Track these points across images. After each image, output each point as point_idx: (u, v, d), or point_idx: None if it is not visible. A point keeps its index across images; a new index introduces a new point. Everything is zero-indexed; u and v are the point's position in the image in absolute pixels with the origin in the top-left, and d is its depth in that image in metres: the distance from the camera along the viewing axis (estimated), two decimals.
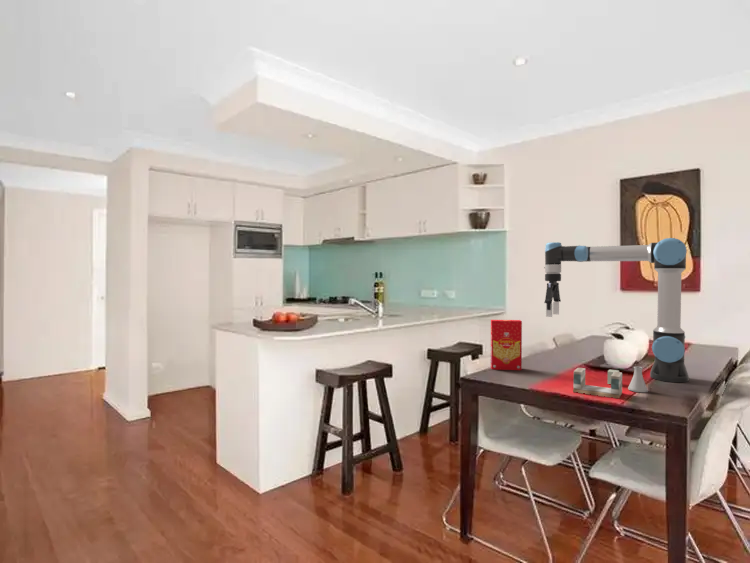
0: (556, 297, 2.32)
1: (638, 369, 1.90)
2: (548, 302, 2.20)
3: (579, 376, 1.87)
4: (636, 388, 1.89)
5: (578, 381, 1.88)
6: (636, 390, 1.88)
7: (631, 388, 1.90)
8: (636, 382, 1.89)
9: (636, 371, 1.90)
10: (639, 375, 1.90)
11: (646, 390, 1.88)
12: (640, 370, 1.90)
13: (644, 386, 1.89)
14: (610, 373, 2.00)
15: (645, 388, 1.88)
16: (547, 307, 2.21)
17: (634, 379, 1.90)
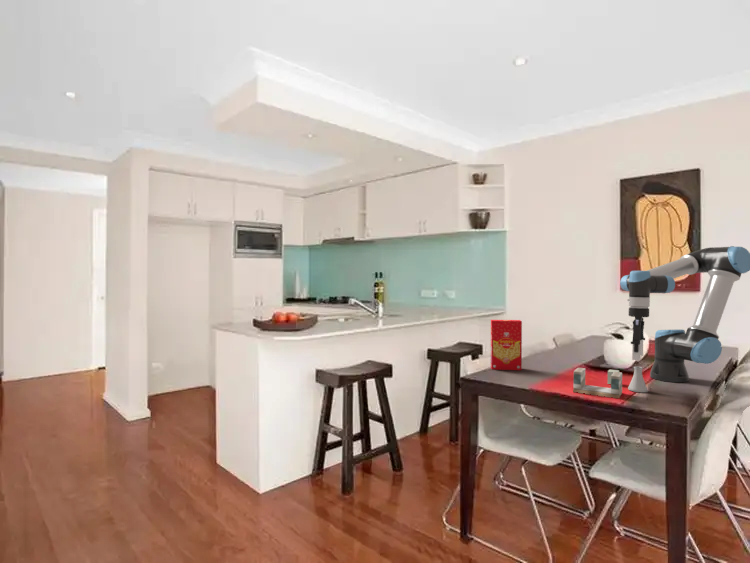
0: (640, 335, 1.95)
1: (638, 369, 1.90)
2: (636, 343, 1.83)
3: (579, 376, 1.87)
4: (636, 388, 1.89)
5: (578, 381, 1.88)
6: (636, 390, 1.88)
7: (631, 388, 1.90)
8: (636, 382, 1.89)
9: (636, 371, 1.90)
10: (639, 375, 1.90)
11: (646, 390, 1.88)
12: (640, 370, 1.90)
13: (644, 386, 1.89)
14: (610, 373, 2.00)
15: (645, 388, 1.88)
16: (634, 349, 1.84)
17: (634, 379, 1.90)
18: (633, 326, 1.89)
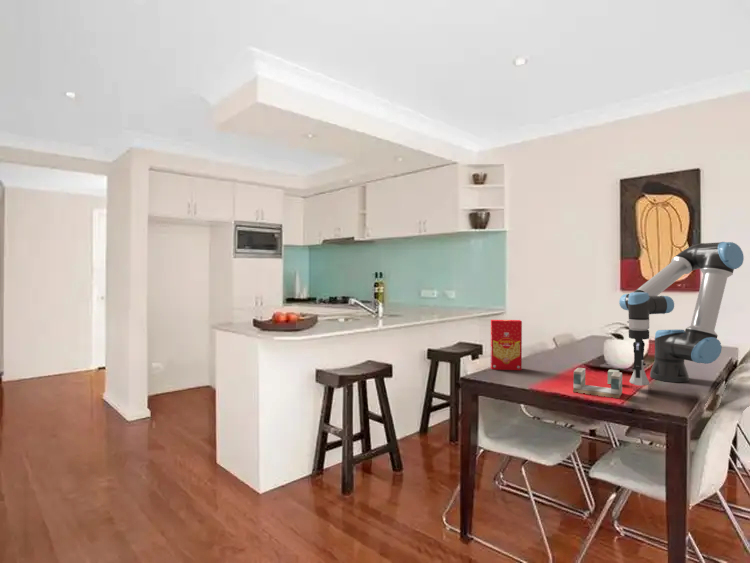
0: (641, 359, 1.93)
1: None
2: (638, 369, 1.86)
3: (579, 376, 1.87)
4: None
5: (578, 381, 1.88)
6: None
7: (633, 381, 1.90)
8: None
9: None
10: None
11: (648, 383, 1.88)
12: None
13: (645, 379, 1.89)
14: (610, 373, 2.00)
15: (646, 381, 1.88)
16: (636, 374, 1.87)
17: None
18: None
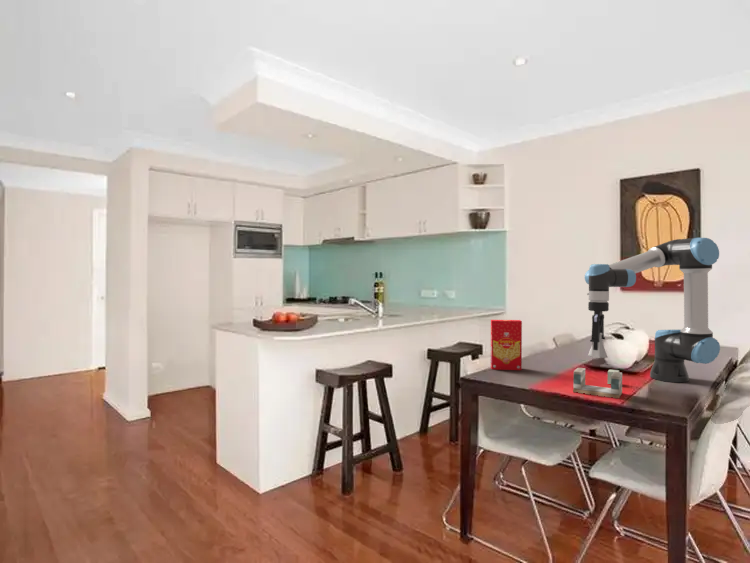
0: None
1: None
2: (595, 340, 1.82)
3: (579, 376, 1.87)
4: None
5: (578, 381, 1.88)
6: None
7: (590, 354, 1.87)
8: None
9: None
10: None
11: (605, 356, 1.85)
12: (600, 336, 1.86)
13: (603, 352, 1.85)
14: (610, 373, 2.00)
15: (604, 354, 1.85)
16: (594, 347, 1.83)
17: None
18: None
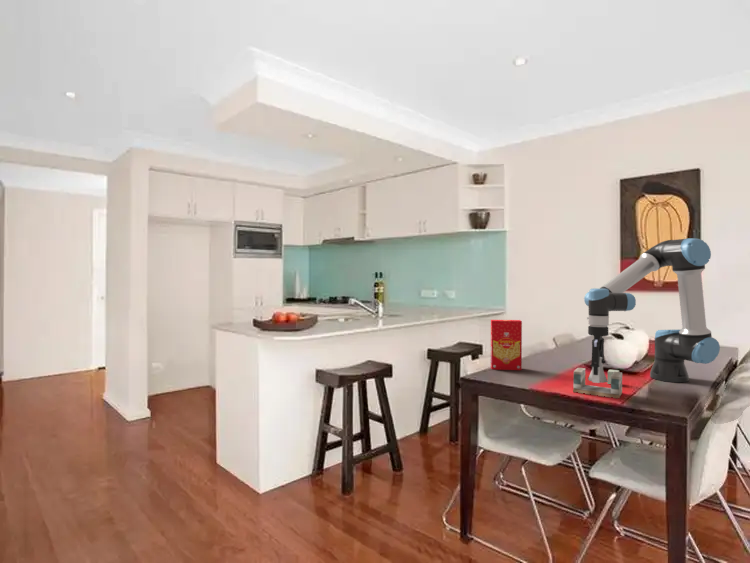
0: (600, 356, 1.90)
1: None
2: (595, 365, 1.82)
3: (579, 376, 1.87)
4: None
5: (578, 381, 1.88)
6: None
7: (590, 378, 1.87)
8: None
9: None
10: None
11: (605, 380, 1.85)
12: (600, 360, 1.87)
13: (603, 376, 1.85)
14: (610, 373, 2.00)
15: (604, 378, 1.85)
16: (594, 371, 1.83)
17: None
18: None
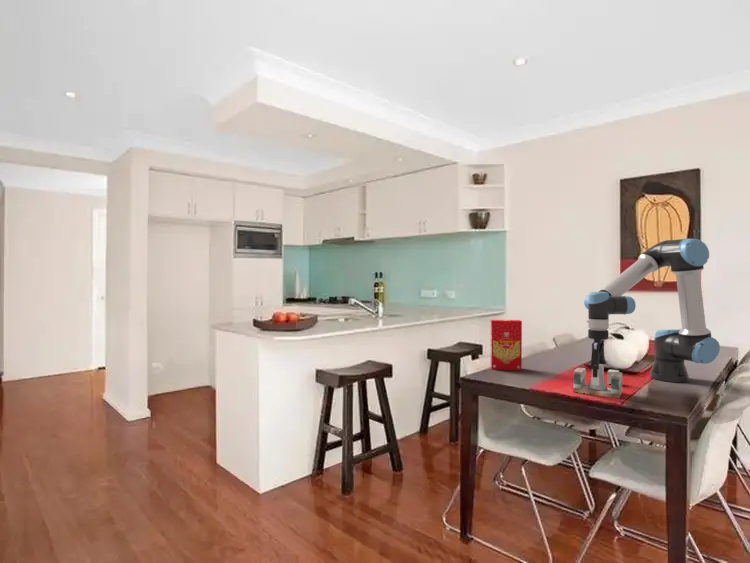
0: (600, 358, 1.91)
1: None
2: (595, 368, 1.81)
3: (579, 376, 1.87)
4: (595, 386, 1.85)
5: (578, 381, 1.88)
6: (595, 388, 1.85)
7: (591, 386, 1.87)
8: None
9: None
10: None
11: (605, 388, 1.85)
12: (600, 368, 1.87)
13: (603, 384, 1.86)
14: (610, 373, 2.00)
15: (604, 386, 1.85)
16: (593, 374, 1.82)
17: None
18: None
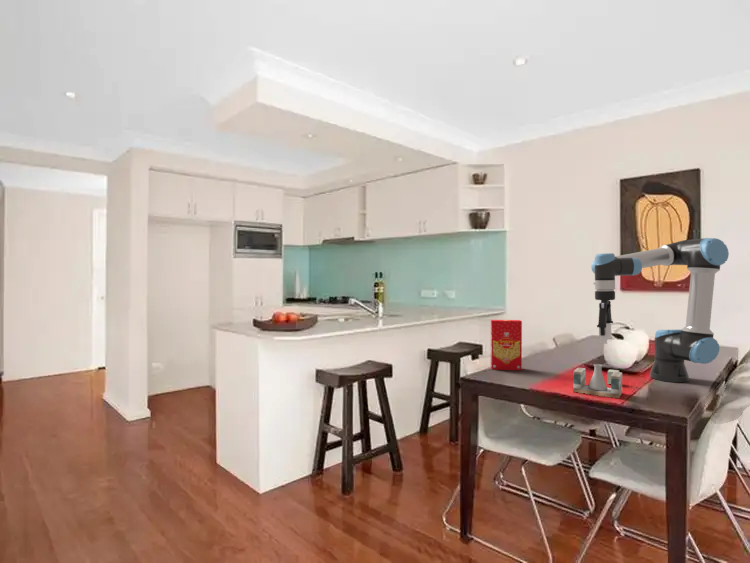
0: (608, 318, 1.94)
1: (598, 367, 1.87)
2: (602, 326, 1.82)
3: (579, 376, 1.87)
4: (595, 386, 1.86)
5: (578, 381, 1.88)
6: (595, 388, 1.85)
7: (591, 386, 1.87)
8: (595, 380, 1.86)
9: (596, 369, 1.87)
10: (598, 373, 1.86)
11: (605, 388, 1.85)
12: (600, 368, 1.87)
13: (603, 384, 1.86)
14: (610, 373, 2.00)
15: (604, 386, 1.85)
16: (601, 332, 1.83)
17: (594, 377, 1.87)
18: None
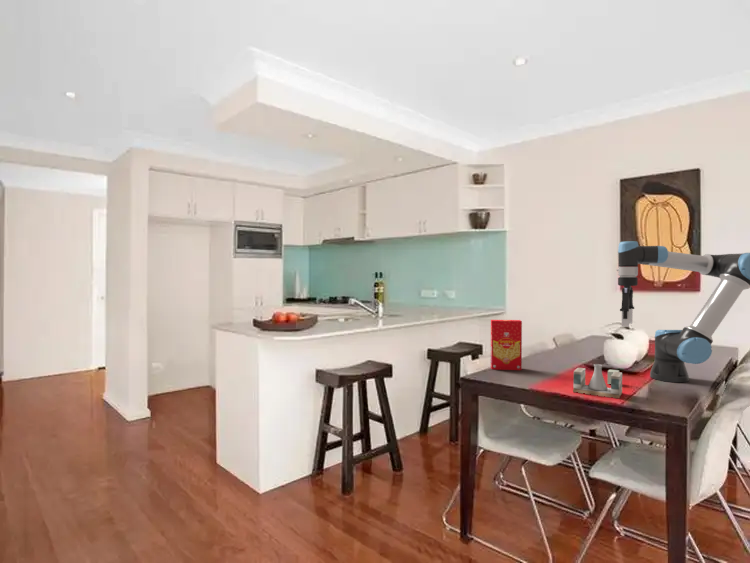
0: (629, 304, 2.03)
1: (598, 367, 1.87)
2: (625, 310, 1.91)
3: (579, 376, 1.87)
4: (595, 386, 1.86)
5: (578, 381, 1.88)
6: (595, 388, 1.85)
7: (591, 386, 1.87)
8: (595, 380, 1.86)
9: (596, 369, 1.87)
10: (598, 373, 1.86)
11: (605, 388, 1.85)
12: (600, 368, 1.87)
13: (603, 384, 1.86)
14: (610, 373, 2.00)
15: (604, 386, 1.85)
16: (623, 316, 1.92)
17: (594, 377, 1.87)
18: None
